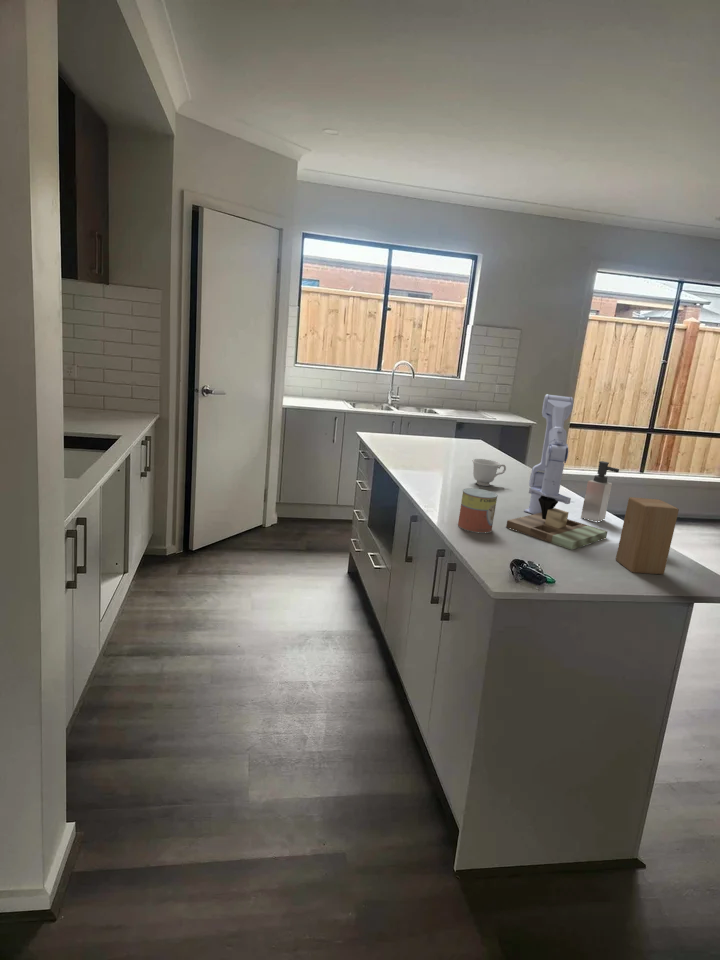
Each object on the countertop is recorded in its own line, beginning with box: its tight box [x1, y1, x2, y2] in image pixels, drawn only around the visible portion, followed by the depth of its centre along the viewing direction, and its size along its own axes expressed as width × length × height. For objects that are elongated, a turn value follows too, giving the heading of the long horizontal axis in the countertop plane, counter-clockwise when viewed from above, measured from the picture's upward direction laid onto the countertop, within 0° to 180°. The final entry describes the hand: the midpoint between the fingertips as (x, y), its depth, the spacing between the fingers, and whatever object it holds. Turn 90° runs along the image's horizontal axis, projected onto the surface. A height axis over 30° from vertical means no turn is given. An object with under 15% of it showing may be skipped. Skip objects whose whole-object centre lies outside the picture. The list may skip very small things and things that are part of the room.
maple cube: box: [545, 507, 570, 528], centre depth 209 cm, size 5×5×5 cm
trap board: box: [505, 512, 608, 551], centre depth 209 cm, size 24×24×2 cm
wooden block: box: [615, 496, 679, 575], centre depth 181 cm, size 10×10×20 cm
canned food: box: [457, 487, 498, 534], centre depth 204 cm, size 11×11×12 cm
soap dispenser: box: [580, 460, 620, 522], centre depth 229 cm, size 6×9×22 cm
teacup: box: [472, 458, 507, 487], centre depth 270 cm, size 12×15×10 cm
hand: (545, 518), depth 212 cm, fingers closed
